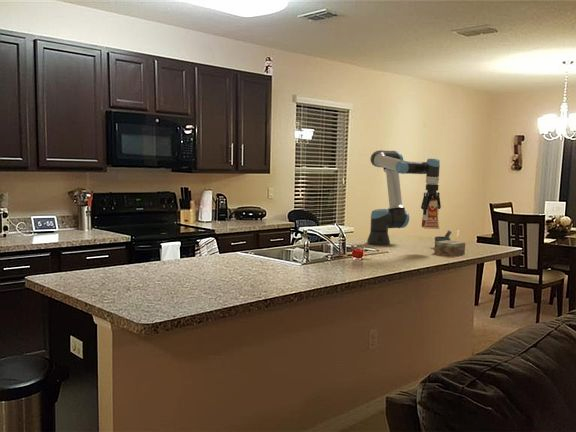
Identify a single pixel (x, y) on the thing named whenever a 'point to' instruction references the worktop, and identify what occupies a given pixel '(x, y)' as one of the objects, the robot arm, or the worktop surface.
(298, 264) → the worktop surface
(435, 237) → the mortar and pestle
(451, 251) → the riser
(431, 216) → the milk carton
